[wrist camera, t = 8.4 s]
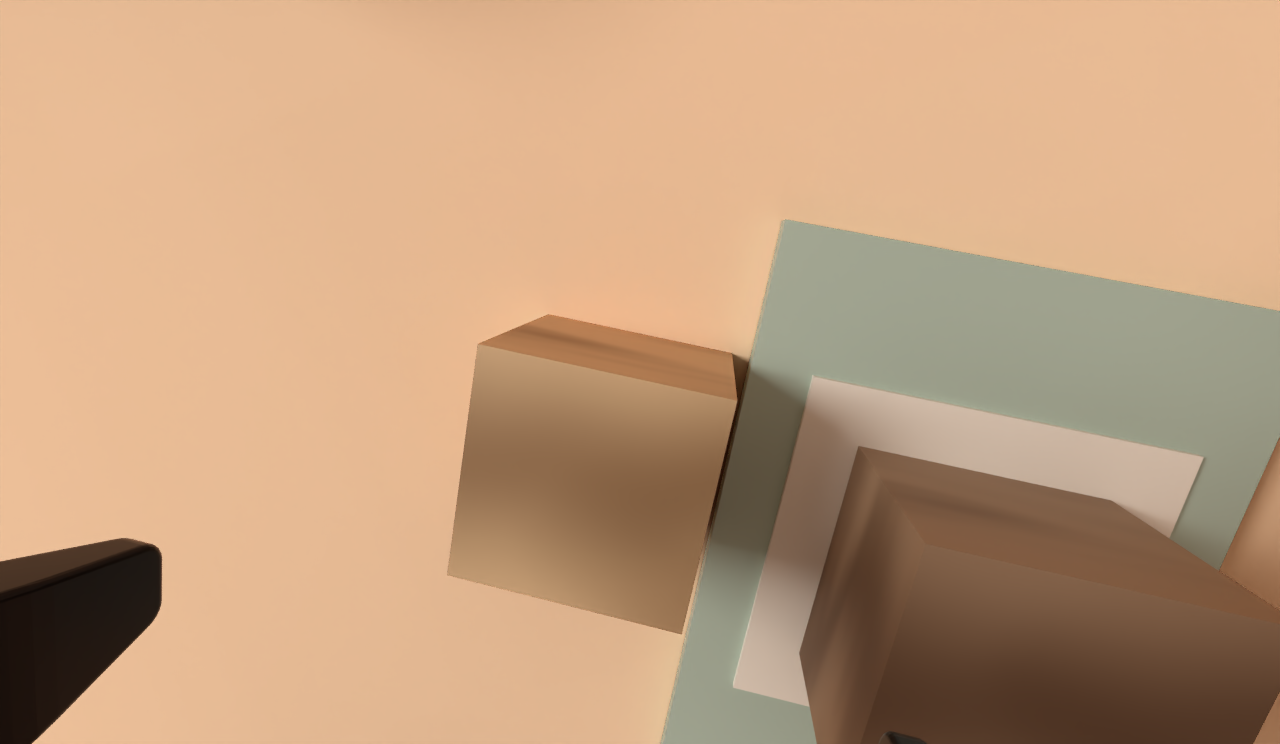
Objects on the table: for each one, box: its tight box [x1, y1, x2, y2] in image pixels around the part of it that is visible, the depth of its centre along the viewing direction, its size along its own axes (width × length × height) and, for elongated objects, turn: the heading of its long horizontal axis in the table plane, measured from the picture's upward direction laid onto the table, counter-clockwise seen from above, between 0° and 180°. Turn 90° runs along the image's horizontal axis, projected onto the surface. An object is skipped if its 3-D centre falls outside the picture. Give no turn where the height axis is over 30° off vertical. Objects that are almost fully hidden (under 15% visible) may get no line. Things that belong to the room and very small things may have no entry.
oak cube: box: [447, 314, 737, 634], centre depth 14 cm, size 5×5×5 cm
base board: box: [661, 219, 1280, 744], centre depth 16 cm, size 16×12×1 cm
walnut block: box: [799, 446, 1280, 744], centre depth 13 cm, size 6×6×5 cm
